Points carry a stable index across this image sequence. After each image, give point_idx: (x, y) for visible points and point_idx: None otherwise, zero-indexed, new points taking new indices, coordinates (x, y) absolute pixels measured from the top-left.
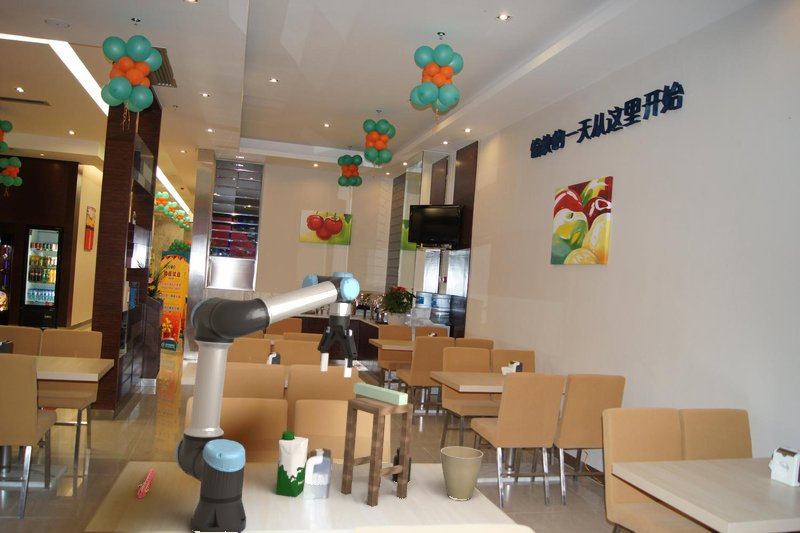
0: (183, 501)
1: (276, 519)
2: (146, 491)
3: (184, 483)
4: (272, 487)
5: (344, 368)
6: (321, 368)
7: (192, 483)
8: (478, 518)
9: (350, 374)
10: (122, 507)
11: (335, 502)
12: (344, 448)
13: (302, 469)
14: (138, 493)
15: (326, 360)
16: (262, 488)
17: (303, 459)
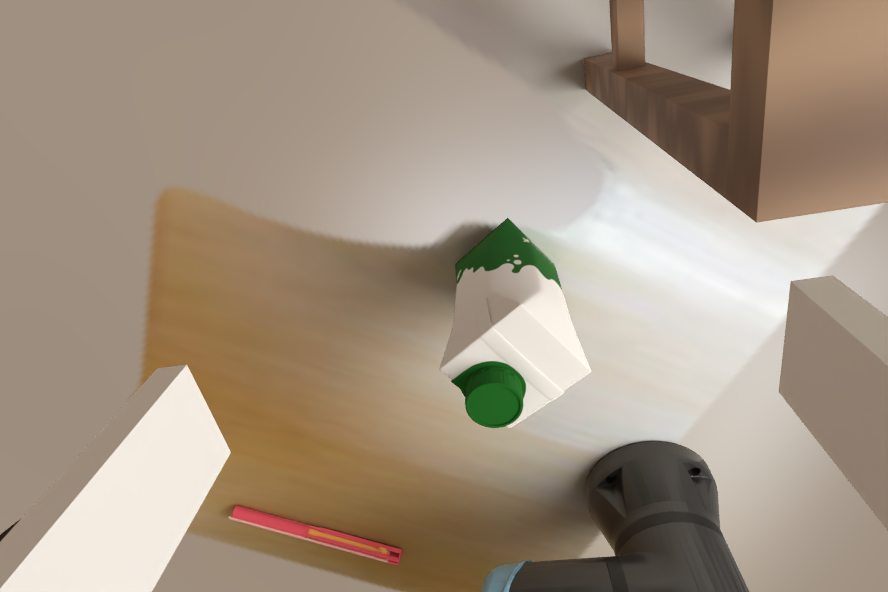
0: (456, 499)
1: (682, 373)
2: (386, 550)
3: (326, 469)
4: (434, 292)
5: (878, 501)
6: (211, 485)
7: (331, 455)
8: None
9: (856, 305)
10: (445, 582)
11: (664, 163)
12: (629, 123)
13: (560, 287)
14: (397, 564)
15: (91, 533)
16: (432, 321)
17: (565, 305)
